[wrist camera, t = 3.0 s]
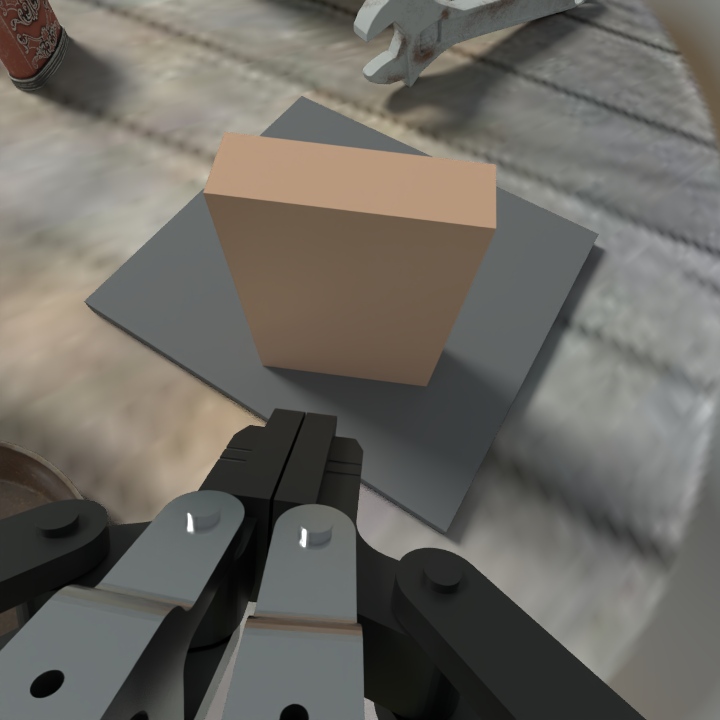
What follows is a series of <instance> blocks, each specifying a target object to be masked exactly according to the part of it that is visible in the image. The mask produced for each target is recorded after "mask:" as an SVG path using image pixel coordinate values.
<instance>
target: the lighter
mask: <svg viewBox="0 0 720 720" xmlns="http://www.w3.org/2000/svg"><path fill="white" fill-rule="evenodd" d="M68 42H69V37H68V35H67V33H66V31H65V29H64V27H63V26H62V25H60V24H59V22H58V20H57V18H56V16H55V14H54V12H53V10H52V8H51V6H50V4H49V2H48V0H0V59H1V60H2V62H3V63H4V65H5V67H6V68H7V70H8V76H9V77H10V79H11V80H12V82H13V83H14V85H15V86H16V87H17V88H18V89H20V90H36V89H39V88H41V87H43V86H44V85H45V84H46V83H47V82H48V80H49V79H50V78H51V77H52V76H53V75H54V73H55V72H56V70H57V69H58V67H59V66H60V64H61V63H62V61H63V58H64V56H65V53H66V51H67V46H68Z"/></svg>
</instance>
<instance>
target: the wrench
mask: <svg viewBox="0 0 720 720" xmlns="http://www.w3.org/2000/svg"><path fill="white" fill-rule="evenodd" d="M585 1H586V0H454V1H449V0H366V1H365V2H364V4H363V5H362V7H361V9H360V10H359V12H358V15H357V17H356V20H355V22H354V32H355V33H356V34H357V35H358V36H359V37H361V38H362V39H363V40H364V41H365V42H369V41H370V40H371V39H372V38H374V37H375V36H376V35H377V34H379V33H380V32H381V31H383V30H384V29H385V28H386V27H388V26H389V25H390V24H391V23H393V25H394V36H393V39H392V42H391V44H390V47H389V50H388V51H384V52H382V53H381V54H380V55H378V56H377V57H375V58H374V59H372V60H371V61H370V62H369V63H368V64H367V65H366V66H365V67H364V68H363V74H364V77H365V78H366V79H367V80H368V81H370V82H373V83H377V84H391V83H394V82H397V81H400V80H402V81H403V82H404V83H405V84H406V85H408V86H409V87H412V85H413V84H414V82H415V81H416V79H417V78H418V76H419V75H420V73H421V72H422V71H423V70H424V69H425V68H426V67H427V66H428V65H429V64H430V63H431V62H432V61H434V60H435V59H436V58H437V57H438V56H439V55H440V54H441V53H443V52H444V51H445V50H447V49H448V48H450V47H451V46H452V45H454V44H456V43H459V42H462V41H465V40H468V39H471V38H474V37H477V36H481V35H484V34H487V33H491V32H494V31H498V30H501V29H504V28H508V27H511V26H515V25H518V24H521V23H525V22H528V21H531V20H534V19H538V18H541V17H544V16H547V15H551V14H555V13H558V12H562V11H565V10H568V9H572V8H574V7H576V6H578V5H580V4H582V3H584V2H585Z"/></svg>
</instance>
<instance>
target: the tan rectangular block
mask: <svg viewBox="0 0 720 720" xmlns="http://www.w3.org/2000/svg"><path fill="white" fill-rule="evenodd" d="M203 194H204V197H205V200H206V203H207V206H208V208H209V211H210V214H211V217H212V220H213V223H214V226H215V229H216V232H217V235H218V238H219V241H220V243H221V246H222V249H223V252H224V255H225V258H226V261H227V264H228V267H229V270H230V273H231V276H232V278H233V281H234V284H235V287H236V290H237V293H238V296H239V299H240V302H241V305H242V308H243V311H244V313H245V316H246V319H247V322H248V325H249V328H250V331H251V334H252V337H253V340H254V343H255V346H256V348H257V351H258V354H259V357H260V360H261V363H262V366H270V367H278V368H286V369H293V370H301V371H309V372H317V373H325V374H332V375H340V376H348V377H356V378H364V379H372V380H379V381H387V382H395V383H403V384H411V385H419V386H426V387H427V385H428V382H429V380H430V378H431V376H432V373H433V371H434V369H435V366H436V364H437V362H438V360H439V357H440V355H441V353H442V351H443V348H444V346H445V344H446V341H447V339H448V337H449V335H450V332H451V330H452V328H453V326H454V323H455V321H456V319H457V317H458V314H459V312H460V310H461V307H462V305H463V303H464V301H465V298H466V296H467V294H468V292H469V289H470V287H471V285H472V283H473V280H474V278H475V276H476V273H477V271H478V269H479V267H480V264H481V262H482V260H483V258H484V255H485V253H486V251H487V248H488V246H489V244H490V242H491V239H492V237H493V235H494V233H495V230H496V165H494V164H486V163H478V162H469V161H461V160H453V159H444V158H436V157H428V156H420V155H411V154H403V153H395V152H386V151H378V150H370V149H361V148H353V147H345V146H337V145H328V144H320V143H312V142H303V141H295V140H287V139H279V138H270V137H262V136H254V135H245V134H237V133H229V132H224V135H223V138H222V141H221V143H220V146H219V149H218V152H217V155H216V158H215V160H214V163H213V166H212V169H211V172H210V175H209V177H208V180H207V183H206V186H205V189H204V191H203Z"/></svg>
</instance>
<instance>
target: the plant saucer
mask: <svg viewBox="0 0 720 720" xmlns="http://www.w3.org/2000/svg"><path fill="white" fill-rule="evenodd" d="M68 499H83V497H82V496H81V494H80V493H79V491H78V490H77V489H76V487H75V486H74V485H73V484H72V482H71V481H70V480H69V479H68V478H67V477H66V476H65V475H64V474H63V473H62V472H61V471H60V470H59V469H58V468H56V467H55V466H54V465H53V464H52V463H50V462H49V461H47V460H46V459H44V458H43V457H41V456H40V455H38V454H36V453H34V452H32V451H30V450H28V449H25V448H23V447H21V446H17V445H14V444H11V443H9V442H4V441H0V520H1V519H4V518H7V517H10V516H13V515H16V514H19V513H21V512H24V511H27V510H30V509H33V508H36V507H39V506H41V505H44V504H48V503H51V502H55V501H60V500H68ZM83 500H84V499H83ZM18 627H19V626H18V620H17V614H16V608H15V607H14V608H12V609H9V610H7V611H5V612H3V613H1V614H0V636H2V635H4V634H6V633H8V632H10V631H12V630H14V629H16V628H18Z"/></svg>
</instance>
